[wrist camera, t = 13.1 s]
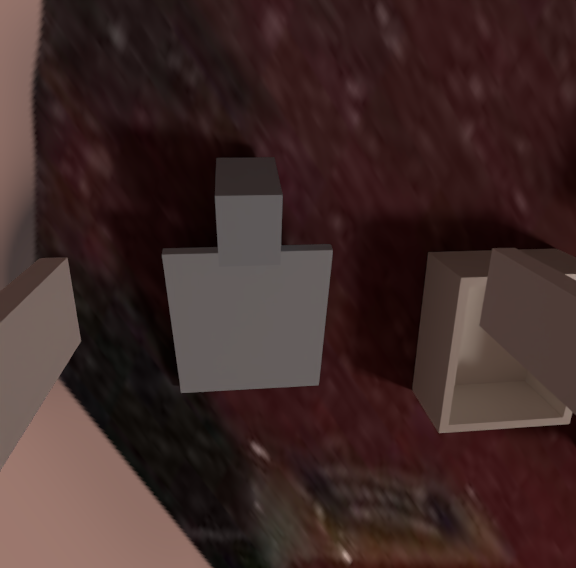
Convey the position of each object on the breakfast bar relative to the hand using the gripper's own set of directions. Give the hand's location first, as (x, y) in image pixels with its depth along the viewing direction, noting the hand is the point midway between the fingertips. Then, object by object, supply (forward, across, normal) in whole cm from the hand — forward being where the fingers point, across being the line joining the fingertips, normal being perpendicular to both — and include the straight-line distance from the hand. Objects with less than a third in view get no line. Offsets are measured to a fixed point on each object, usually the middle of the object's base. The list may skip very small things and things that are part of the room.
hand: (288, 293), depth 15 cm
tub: (+22, +19, -12) cm, 32 cm away
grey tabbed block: (+23, -1, -7) cm, 24 cm away
